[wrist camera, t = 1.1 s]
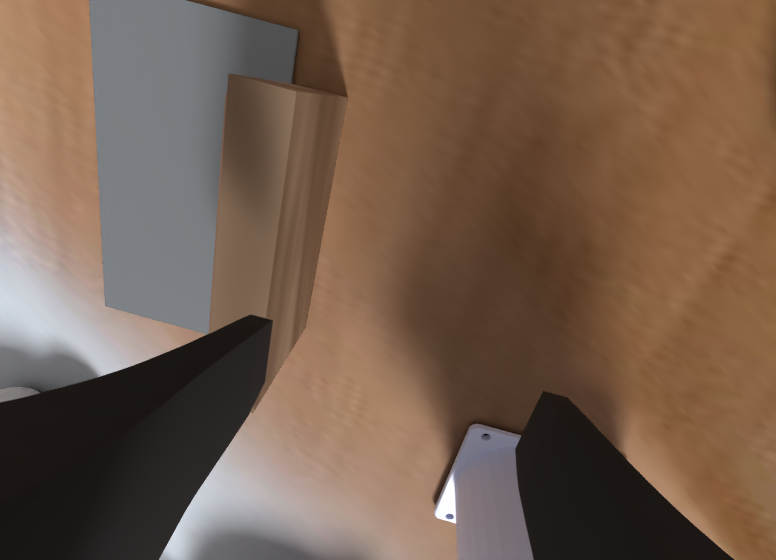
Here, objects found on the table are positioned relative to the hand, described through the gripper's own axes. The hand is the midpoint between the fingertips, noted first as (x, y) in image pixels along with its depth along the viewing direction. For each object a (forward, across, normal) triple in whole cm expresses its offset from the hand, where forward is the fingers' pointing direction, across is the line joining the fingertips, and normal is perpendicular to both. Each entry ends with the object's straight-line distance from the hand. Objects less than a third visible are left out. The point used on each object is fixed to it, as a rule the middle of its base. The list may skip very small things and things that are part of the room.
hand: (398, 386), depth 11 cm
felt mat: (+10, +12, 0) cm, 16 cm away
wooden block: (+10, +6, 0) cm, 12 cm away
